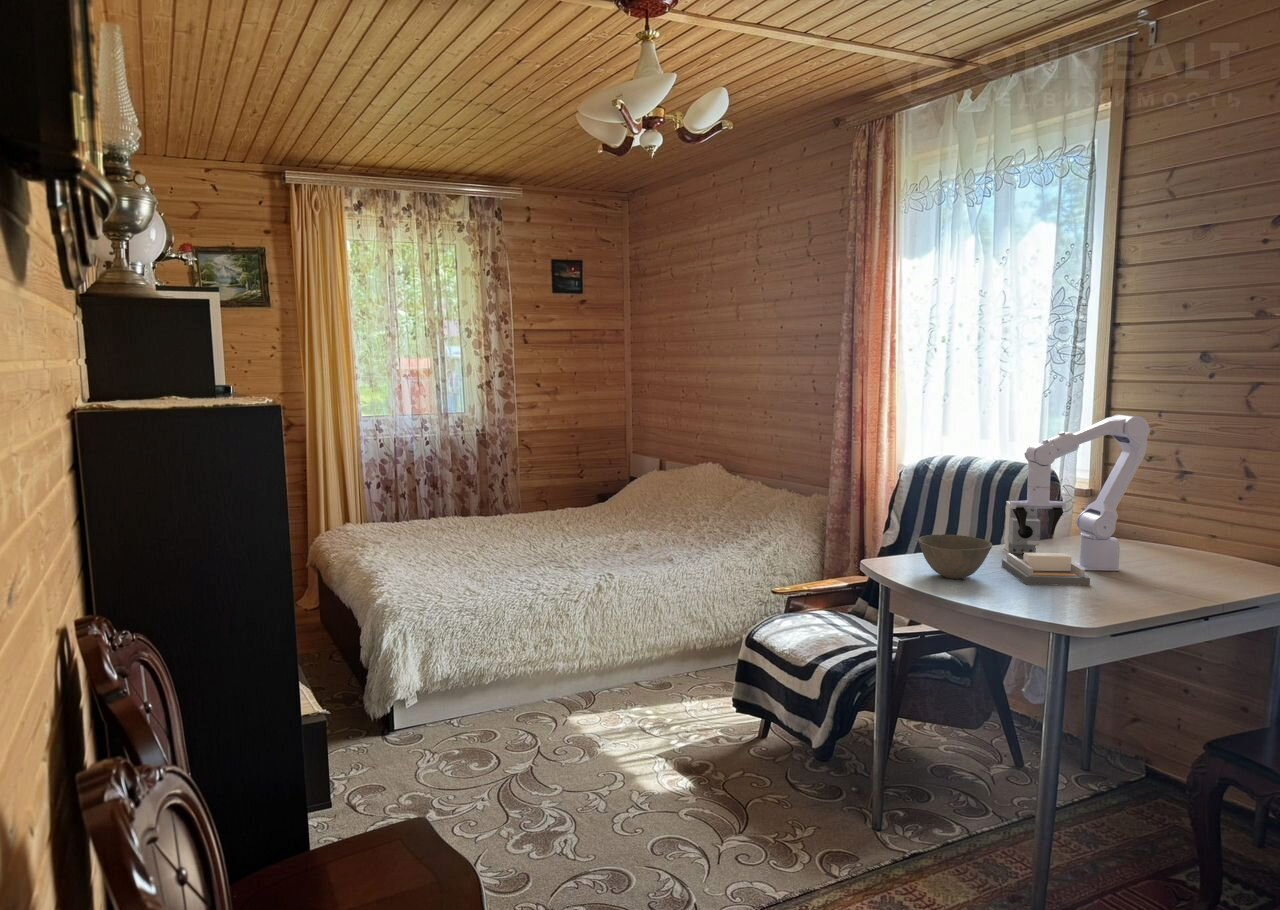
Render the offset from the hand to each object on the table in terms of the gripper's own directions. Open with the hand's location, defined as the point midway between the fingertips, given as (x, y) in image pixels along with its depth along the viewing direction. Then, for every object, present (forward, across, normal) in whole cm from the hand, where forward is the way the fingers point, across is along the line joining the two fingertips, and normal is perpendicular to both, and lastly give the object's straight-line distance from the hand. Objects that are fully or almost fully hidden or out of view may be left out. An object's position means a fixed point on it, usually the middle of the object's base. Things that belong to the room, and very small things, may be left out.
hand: (1036, 533), depth 236 cm
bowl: (+10, +26, +12) cm, 30 cm away
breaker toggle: (+8, +1, +10) cm, 13 cm away
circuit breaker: (+10, -3, -19) cm, 22 cm away
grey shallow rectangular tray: (+10, +1, +8) cm, 13 cm away
